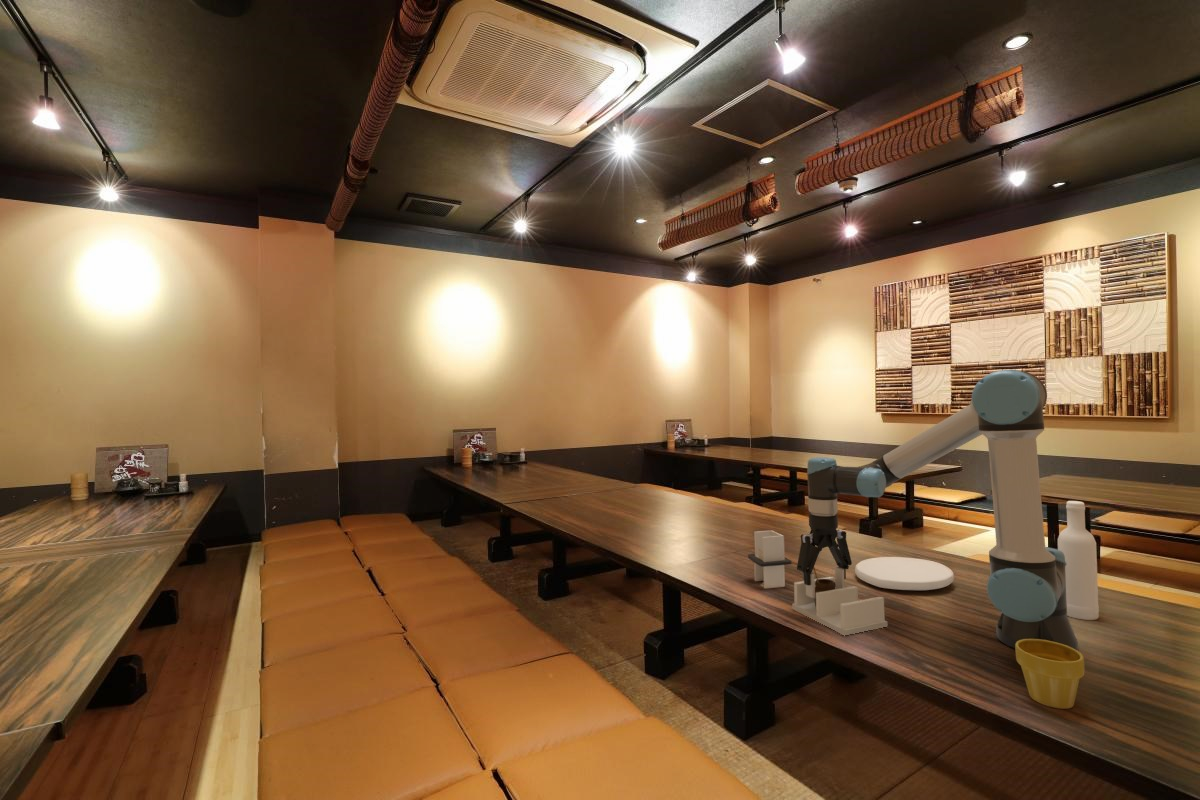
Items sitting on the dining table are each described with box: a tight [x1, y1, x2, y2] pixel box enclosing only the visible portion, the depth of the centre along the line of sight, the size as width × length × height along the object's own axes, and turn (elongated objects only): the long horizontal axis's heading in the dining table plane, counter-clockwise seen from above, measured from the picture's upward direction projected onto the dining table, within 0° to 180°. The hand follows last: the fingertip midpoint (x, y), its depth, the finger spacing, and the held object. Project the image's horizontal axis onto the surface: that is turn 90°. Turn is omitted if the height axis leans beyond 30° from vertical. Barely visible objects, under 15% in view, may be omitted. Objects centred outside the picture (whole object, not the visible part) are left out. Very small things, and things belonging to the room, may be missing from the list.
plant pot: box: [1014, 639, 1085, 710], centre depth 106 cm, size 10×10×10 cm
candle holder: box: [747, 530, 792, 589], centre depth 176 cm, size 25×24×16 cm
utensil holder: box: [813, 567, 837, 606], centre depth 151 cm, size 6×6×12 cm
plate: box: [854, 556, 955, 591], centre depth 175 cm, size 28×6×27 cm
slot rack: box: [791, 576, 889, 637], centre depth 147 cm, size 20×14×8 cm
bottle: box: [1057, 500, 1100, 621], centre depth 145 cm, size 8×8×30 cm
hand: (825, 593), depth 151 cm, fingers open, 9 cm apart
